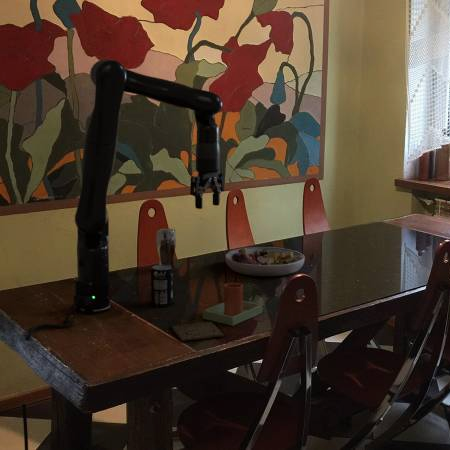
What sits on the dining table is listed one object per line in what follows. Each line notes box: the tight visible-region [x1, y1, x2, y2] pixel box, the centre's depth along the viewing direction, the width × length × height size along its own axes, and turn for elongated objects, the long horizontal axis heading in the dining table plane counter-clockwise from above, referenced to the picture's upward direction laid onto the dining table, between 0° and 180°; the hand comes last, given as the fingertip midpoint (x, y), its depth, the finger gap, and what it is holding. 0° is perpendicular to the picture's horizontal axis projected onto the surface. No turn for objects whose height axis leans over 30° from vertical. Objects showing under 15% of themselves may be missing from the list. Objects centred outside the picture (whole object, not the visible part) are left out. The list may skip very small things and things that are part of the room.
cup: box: [223, 282, 244, 317], centre depth 217 cm, size 6×6×9 cm
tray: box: [202, 300, 263, 327], centre depth 218 cm, size 15×11×2 cm
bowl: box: [224, 246, 306, 278], centre depth 273 cm, size 30×30×8 cm
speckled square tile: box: [171, 320, 225, 342], centre depth 203 cm, size 12×12×1 cm
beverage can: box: [150, 264, 174, 307], centre depth 226 cm, size 7×7×12 cm
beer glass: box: [156, 228, 177, 272], centre depth 267 cm, size 7×7×15 cm
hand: (207, 206), depth 230 cm, fingers open, 8 cm apart
